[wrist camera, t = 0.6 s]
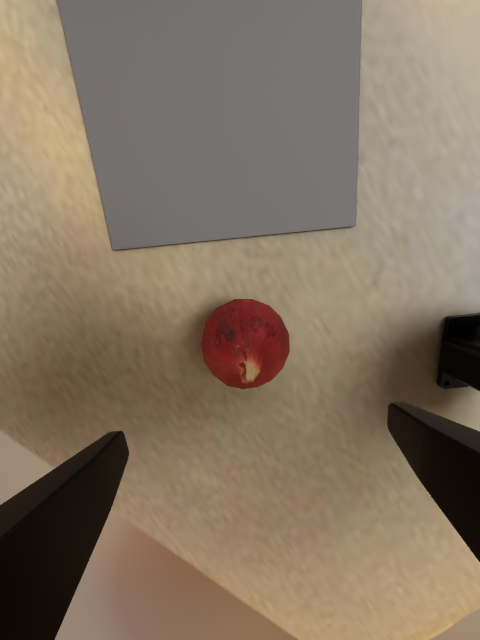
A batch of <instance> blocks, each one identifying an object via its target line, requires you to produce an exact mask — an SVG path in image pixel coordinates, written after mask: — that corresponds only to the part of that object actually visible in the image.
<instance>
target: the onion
mask: <svg viewBox="0 0 480 640" xmlns="http://www.w3.org/2000/svg"><path fill="white" fill-rule="evenodd" d="M201 346H202V351H203V356H204V360H205V363H206V365H207V366H208V367H209V369H210V370H211V372H212V373H213V375H214V376H215V377H217V378H218V379H219V380H221V381H222V382H223V383H224V384H226V385H227V386H231V387H236V388H241V389H246V388H254V387H258V386H261V385H263V384H265V383H267V382H269V381H271V380H272V379H273V378H274V377H275V376H276V375H277V374H278V373H279V372H280V371H281V370H282V369H283V366H284V364H285V362H286V359H287V357H288V354H289V334H288V331H287V329H286V327H285V325H284V323H283V321H282V318H281V317H280V316H279V315H278V314H277V313H276V312H275V311H274V310H273V309H272V308H271V307H270V306H269V305H266V304H263V303H261V302H258V301H255V300H253V299H235V300H233V301H231V302H229V303H227V304H225V305H223V306H220V307H219V308H217V309H216V310H215V311H214V313H213V314H212V315H211V316H210V318H209V319H208V320H207V322H206V323H205V328H204V332H203V337H202V342H201Z"/></svg>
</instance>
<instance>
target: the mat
mask: <svg viewBox="0 0 480 640" xmlns="http://www.w3.org/2000/svg"><path fill="white" fill-rule="evenodd" d="M57 2H58V6H59V11H60V15H61V20H62V24H63V29H64V33H65V38H66V42H67V46H68V51H69V55H70V60H71V64H72V69H73V73H74V78H75V82H76V87H77V91H78V96H79V100H80V105H81V109H82V114H83V118H84V123H85V127H86V132H87V136H88V141H89V145H90V150H91V154H92V159H93V163H94V168H95V172H96V177H97V181H98V186H99V190H100V195H101V199H102V204H103V208H104V213H105V217H106V222H107V226H108V231H109V235H110V240H111V244H112V249H113V250H123V249H133V248H143V247H153V246H163V245H173V244H183V243H193V242H203V241H214V240H224V239H234V238H244V237H254V236H264V235H274V234H284V233H294V232H304V231H314V230H325V229H335V228H345V227H354V226H356V210H357V172H358V134H359V96H360V58H361V19H362V0H57Z"/></svg>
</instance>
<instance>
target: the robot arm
mask: <svg viewBox="0 0 480 640" xmlns="http://www.w3.org/2000/svg"><path fill="white" fill-rule="evenodd" d="M453 321H454V322H453ZM452 322H453V324H452ZM444 382H445V383H444ZM437 384H438V385H439V386H440V387H442V388H444V389H448V388H458V387H468V386H470V387H472V388H474V389H476V390H478V391H480V313H478V314H468V315H458V316H450V317H448V318H447V319H446V320H445V324H444V332H443V339H442V347H441V355H440V363H439V371H438V379H437ZM387 426H388V429H389V432H390V433H391V435H392V437H393V438H394V440H395V442H396V443H397V445H398V446H399V448H400V450H401V451H402V453H403V455H404V456H405V458H406V459H407V461H408V463H409V464H410V466H411V468H412V469H413V471H414V472H415V474H416V476H417V477H418V479H419V480H420V481H421V483H422V484H423V486H424V487H425V488H426V490H427V491H428V493H429V494H430V495H431V497H432V498H433V499H434V501H435V502H436V503H437V505H438V506H439V508H440V509H441V510H442V512H443V513H444V514H445V516H446V517H447V518H448V520H449V521H450V522H451V524H452V525H453V527H454V528H455V529H456V531H457V532H458V533H459V535H460V536H461V537H462V539H463V540H464V542H465V543H466V544H467V546H468V547H469V548H470V550H471V551H472V552H473V554H474V555H475V556H476V558H477V559H478V561H479V562H480V432H479V431H477V430H474V429H472V428H469V427H466V426H464V425H461V424H459V423H456V422H454V421H451V420H449V419H446V418H443V417H441V416H438V415H436V414H433V413H431V412H428V411H425V410H423V409H420V408H418V407H415V406H413V405H410V404H408V403H405V402H393V403H390V404H389V406H388V419H387ZM128 456H129V450H128V446H127V442H126V439H125V435H124V433H123V432H122V431H113V432H109V433H107V434H106V435H104V436H103V437H101V438H100V439H98V440H97V441H95V442H94V443H92V444H91V445H89V446H88V447H86V448H85V449H83V450H82V451H80V452H79V453H77V454H76V455H74V456H73V457H71V458H70V459H68V460H67V461H65V462H64V463H62V464H61V465H59V466H58V467H57V468H55V469H54V470H52V471H51V472H49V473H48V474H46V475H45V476H43V477H42V478H40V479H39V480H37V481H36V482H35V483H33V484H31V485H30V486H28V487H27V488H25V489H24V490H22V491H21V492H19V493H18V494H16V495H15V496H13V497H12V498H11V499H9V500H7V501H6V502H4V503H3V504H1V505H0V640H55V637H56V635H57V632H58V630H59V628H60V626H61V624H62V621H63V619H64V616H65V614H66V612H67V609H68V607H69V605H70V603H71V600H72V598H73V596H74V594H75V591H76V589H77V586H78V584H79V582H80V580H81V577H82V575H83V573H84V570H85V568H86V566H87V563H88V561H89V559H90V556H91V554H92V552H93V550H94V547H95V545H96V543H97V540H98V538H99V536H100V534H101V531H102V529H103V526H104V524H105V522H106V520H107V517H108V515H109V512H110V510H111V507H112V505H113V502H114V499H115V496H116V493H117V490H118V487H119V484H120V481H121V478H122V475H123V472H124V469H125V466H126V463H127V460H128Z"/></svg>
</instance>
